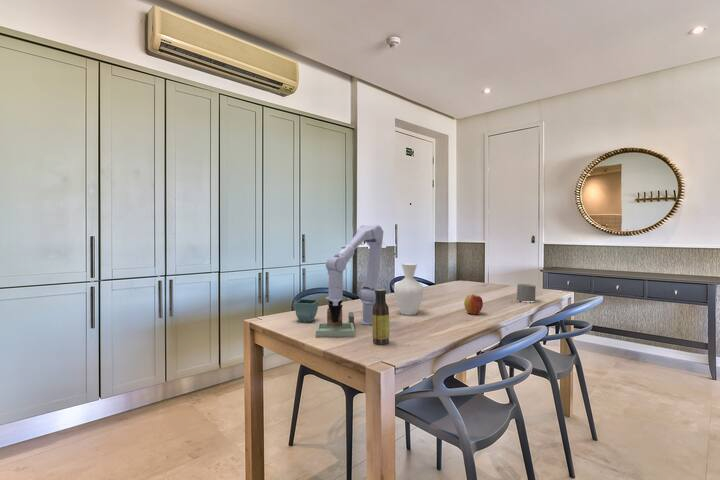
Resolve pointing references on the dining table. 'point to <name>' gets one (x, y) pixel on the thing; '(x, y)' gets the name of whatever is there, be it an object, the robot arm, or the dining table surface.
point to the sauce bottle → (380, 318)
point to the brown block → (329, 319)
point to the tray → (335, 330)
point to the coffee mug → (526, 292)
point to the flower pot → (306, 309)
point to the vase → (408, 291)
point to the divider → (351, 318)
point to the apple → (473, 304)
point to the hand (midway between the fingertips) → (335, 319)
